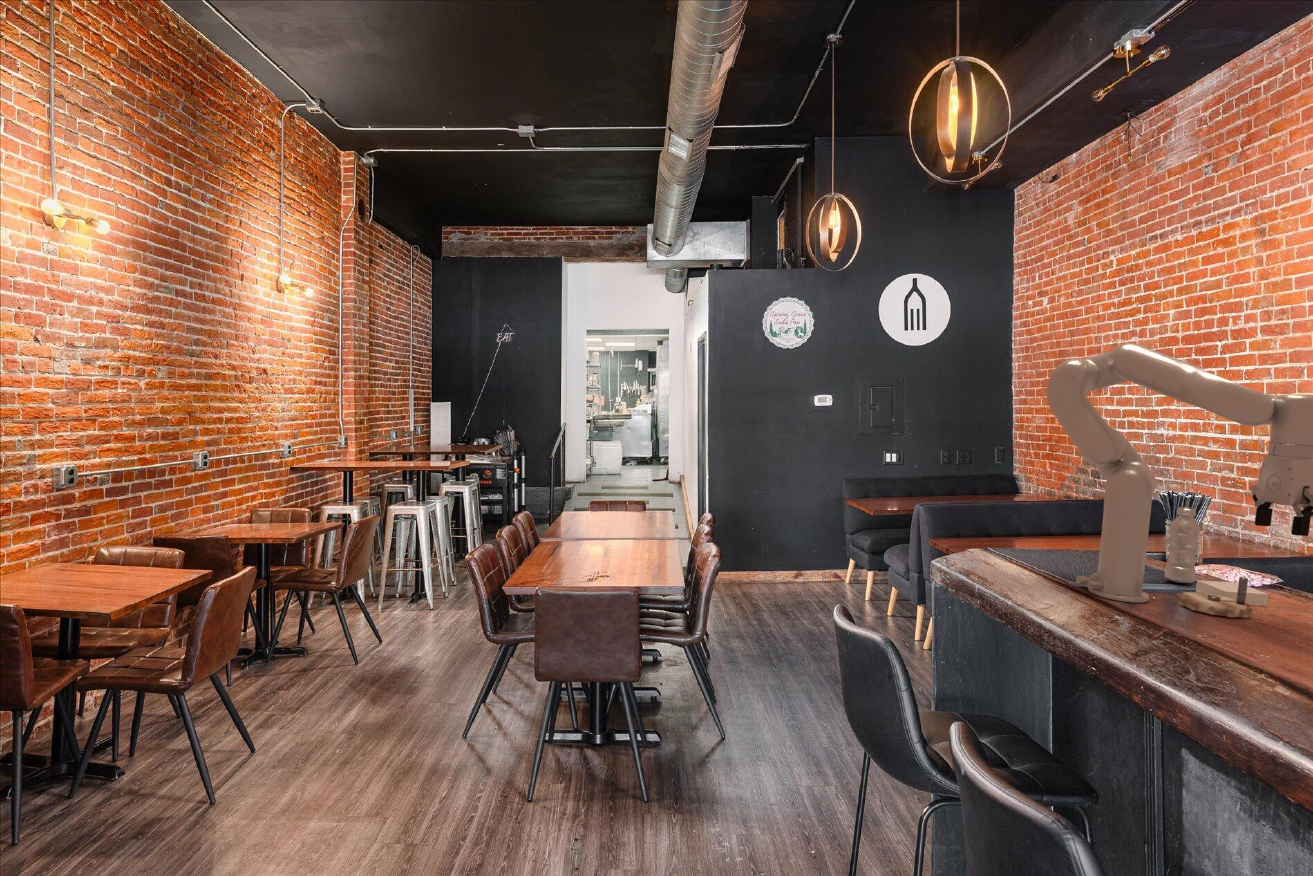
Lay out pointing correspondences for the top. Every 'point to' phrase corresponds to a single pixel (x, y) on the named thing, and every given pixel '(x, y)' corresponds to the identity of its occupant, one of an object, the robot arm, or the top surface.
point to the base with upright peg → (1218, 602)
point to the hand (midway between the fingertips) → (1280, 530)
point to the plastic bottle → (1183, 546)
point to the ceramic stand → (1232, 591)
